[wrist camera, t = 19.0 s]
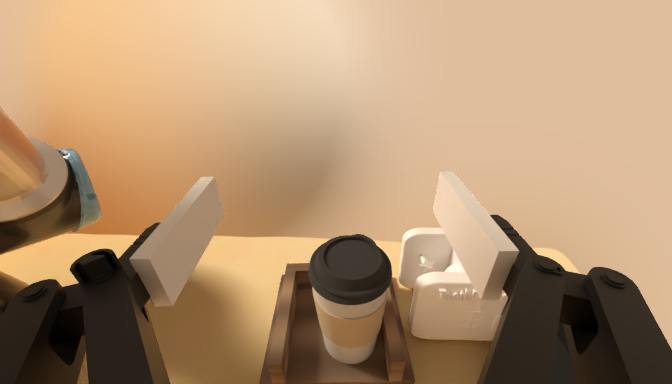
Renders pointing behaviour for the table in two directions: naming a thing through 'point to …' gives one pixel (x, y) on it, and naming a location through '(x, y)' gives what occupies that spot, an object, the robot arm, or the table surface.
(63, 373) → the robot arm
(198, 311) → the table surface
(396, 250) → the table surface
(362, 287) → the coffee cup
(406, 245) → the cable organizer
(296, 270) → the brown wooden tray
